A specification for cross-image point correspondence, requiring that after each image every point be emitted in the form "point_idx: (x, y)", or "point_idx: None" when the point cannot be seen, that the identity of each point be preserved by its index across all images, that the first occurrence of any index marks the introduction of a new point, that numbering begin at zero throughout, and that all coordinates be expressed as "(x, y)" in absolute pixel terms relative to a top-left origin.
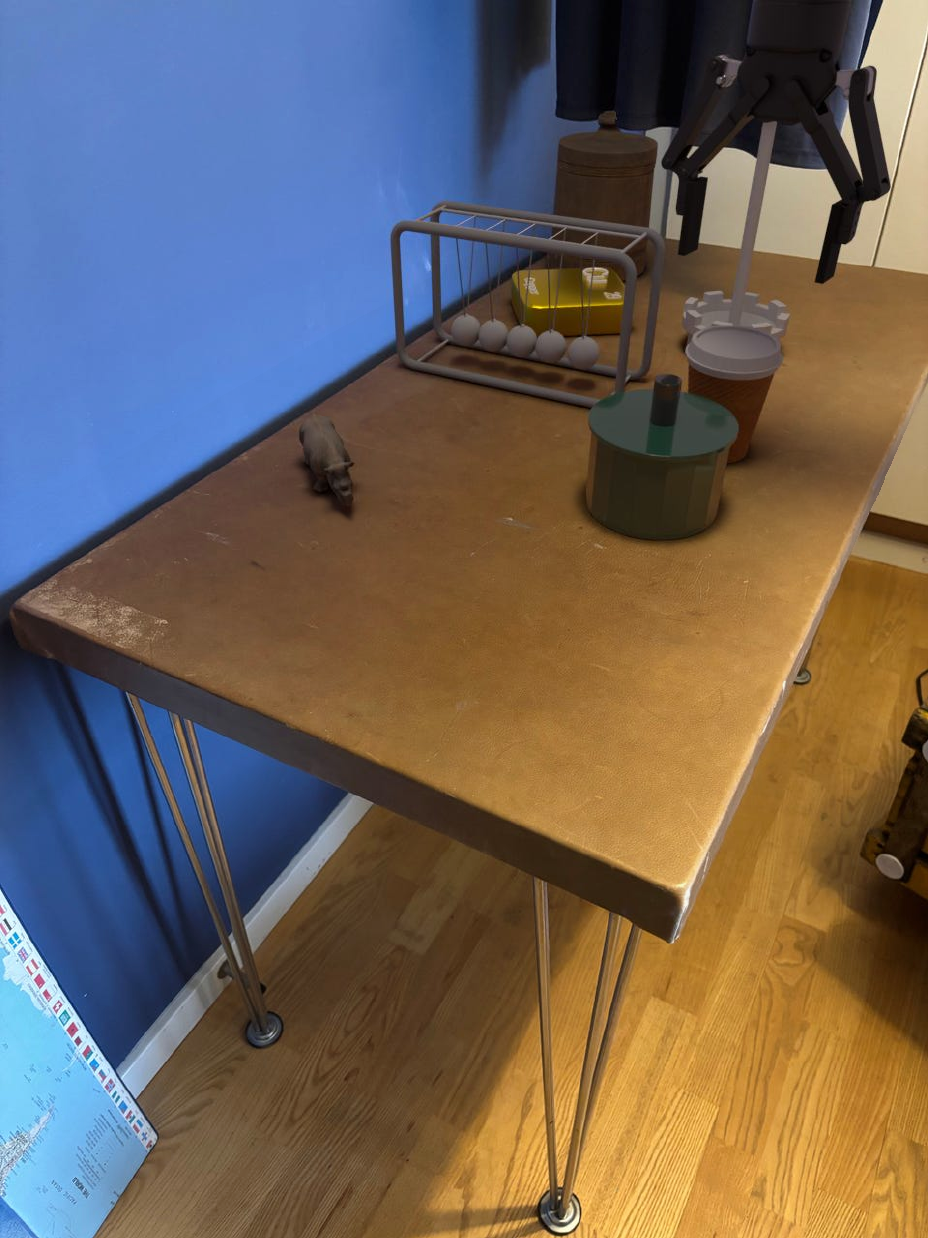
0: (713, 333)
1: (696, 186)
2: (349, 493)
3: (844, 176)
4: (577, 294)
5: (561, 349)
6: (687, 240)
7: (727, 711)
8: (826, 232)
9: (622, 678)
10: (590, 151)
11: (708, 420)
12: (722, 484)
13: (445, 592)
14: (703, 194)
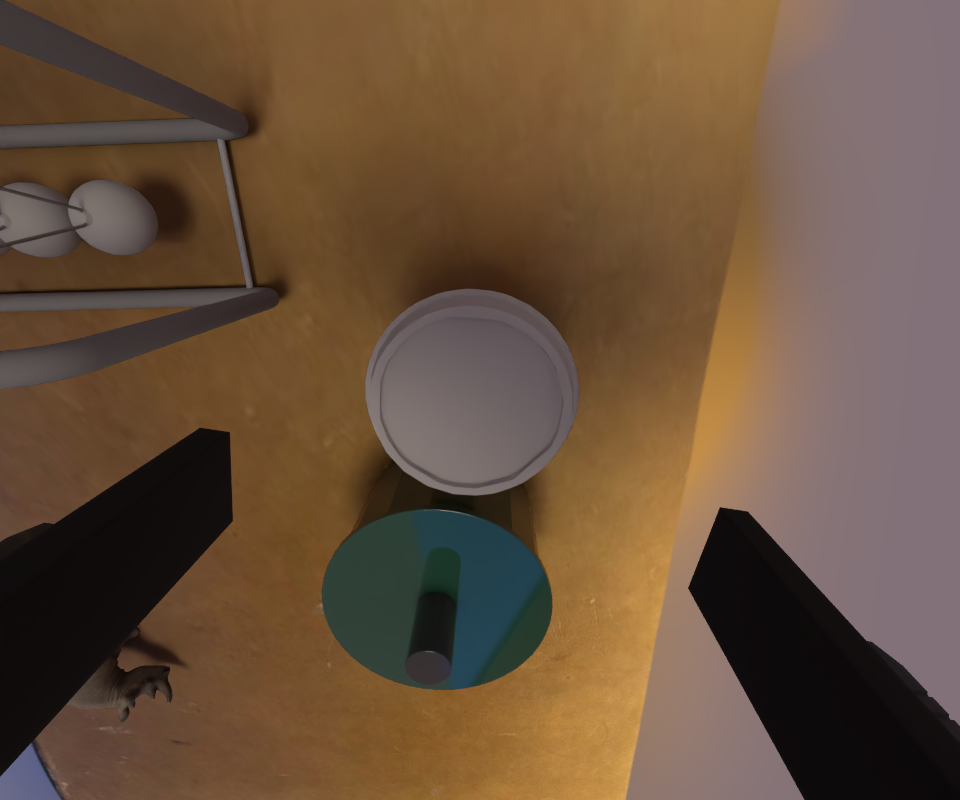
0: (402, 363)
1: (7, 738)
2: (168, 702)
3: None
4: None
5: (69, 234)
6: (202, 549)
7: (613, 736)
8: (778, 744)
9: (528, 737)
10: None
11: (499, 580)
12: (537, 548)
13: (344, 713)
14: (51, 592)
